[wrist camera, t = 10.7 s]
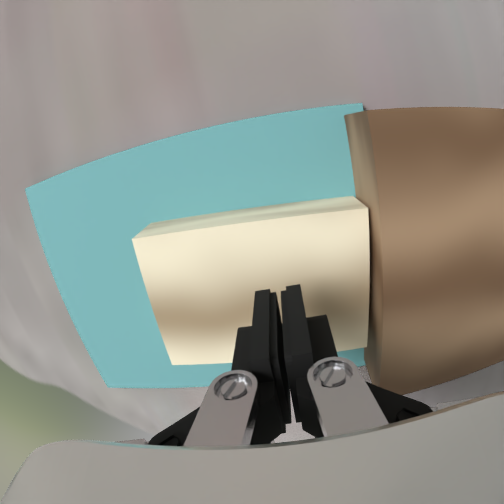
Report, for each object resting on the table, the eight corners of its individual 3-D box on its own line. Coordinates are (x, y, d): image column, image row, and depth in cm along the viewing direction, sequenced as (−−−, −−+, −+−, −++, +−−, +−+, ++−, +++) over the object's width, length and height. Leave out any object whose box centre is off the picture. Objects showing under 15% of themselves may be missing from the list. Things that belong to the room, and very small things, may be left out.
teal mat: (29, 187, 15) (24, 188, 15) (359, 103, 13) (362, 103, 13) (109, 383, 21) (108, 387, 20) (377, 358, 18) (378, 362, 18)
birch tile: (150, 222, 15) (131, 239, 13) (352, 195, 14) (368, 208, 12) (182, 337, 18) (172, 364, 16) (356, 320, 17) (366, 346, 15)
